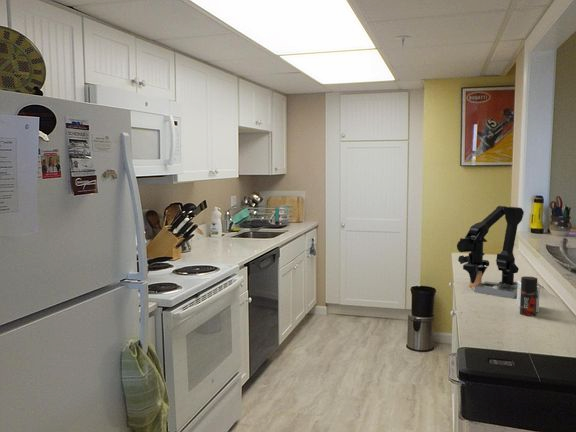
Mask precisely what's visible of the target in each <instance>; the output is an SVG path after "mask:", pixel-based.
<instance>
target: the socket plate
mask: <svg viewBox="0 0 576 432" xmlns="http://www.w3.org/2000/svg"><path fill="white" fill-rule="evenodd" d="M477 292H478V293H477ZM474 293H477V294H482V295H484V294H485V295H491V296H497V297H501V298H508V299H516V298H517V285H515V284H513V285H508V284H502V283H499V282H494V281H493V282H492V281H487V280H486V281H484V282H483V281H482V283H481V284H478V285H476V286H475V288H474Z"/></svg>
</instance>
